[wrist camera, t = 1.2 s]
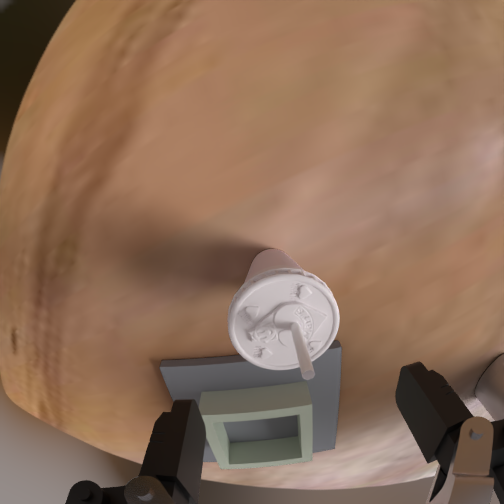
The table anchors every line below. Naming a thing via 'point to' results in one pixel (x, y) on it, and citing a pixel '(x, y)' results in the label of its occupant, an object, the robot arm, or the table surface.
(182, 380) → the stand
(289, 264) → the smoothie
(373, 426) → the table surface
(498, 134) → the table surface
